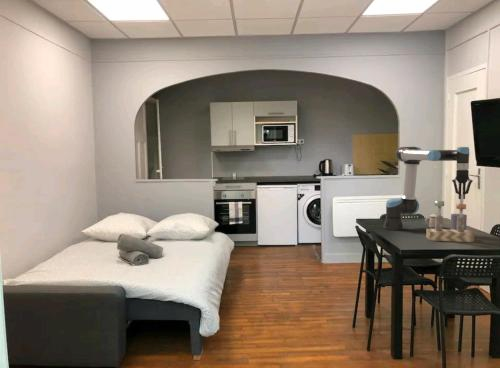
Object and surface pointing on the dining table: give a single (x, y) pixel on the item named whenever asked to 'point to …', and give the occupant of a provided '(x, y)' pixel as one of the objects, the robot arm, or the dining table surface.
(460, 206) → the terracotta plunger
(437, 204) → the sage plunger
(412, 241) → the dining table surface
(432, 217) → the teacup with lid
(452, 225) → the container
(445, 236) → the press stand
